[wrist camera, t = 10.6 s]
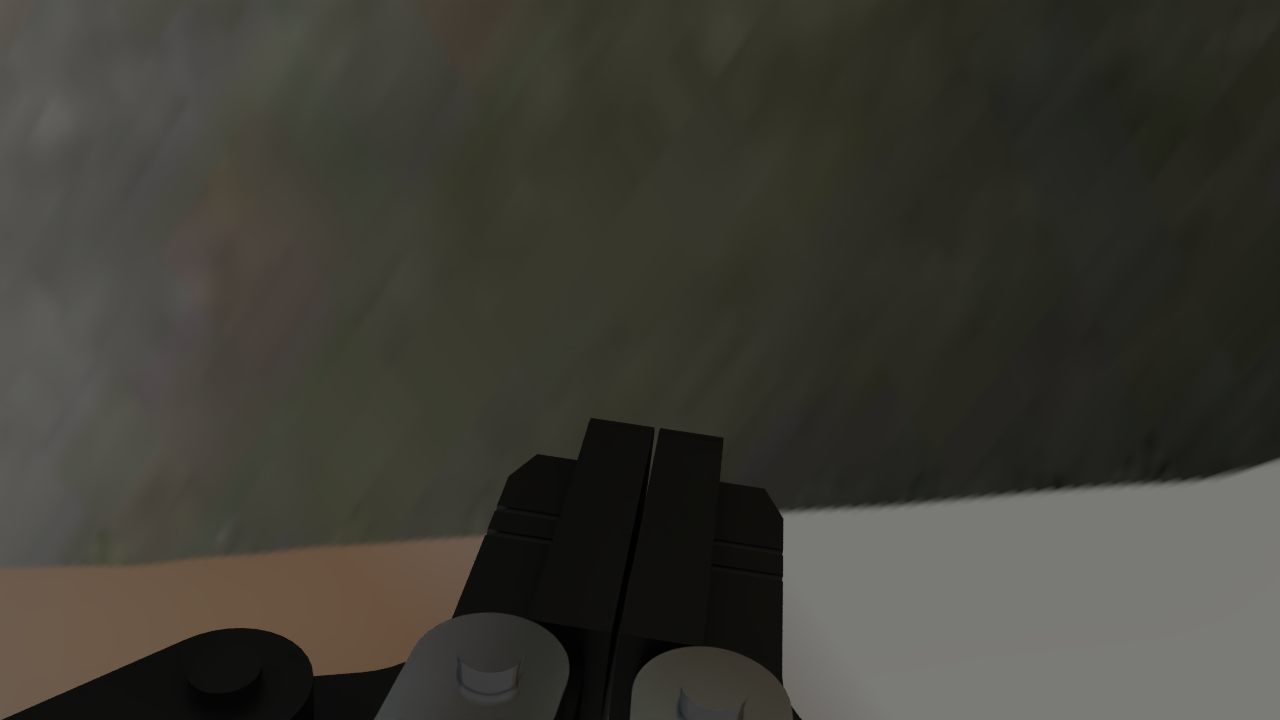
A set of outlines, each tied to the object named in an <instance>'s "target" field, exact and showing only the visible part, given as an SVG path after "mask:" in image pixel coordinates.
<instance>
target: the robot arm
mask: <svg viewBox="0 0 1280 720" xmlns="http://www.w3.org/2000/svg"><path fill="white" fill-rule="evenodd" d="M654 429H655V428H654V427H648V426H641V425H635V424H628V423H621V422H615V421H608V420H602V419H595V418H591V419H590V421H589V424H588V428H587V431H586V434H585V437H584V441H583V444H582V447H581V450H580V453H579V457H578V460H572V459H566V458H559V457H553V456H546V455H540V454H537V455H536V456H534V457H533V458H532V459H530V460H529V461H528V462H527V463H525V464H524V465H523V466H521V467H520V468H519V469H518V470H516V471H515V472H514V473H512V474H511V475H510V476H509V477H508V480H507V482H506V485H505V487H504V490H503V492H502V495H501V497H500V500H499V502H498V505H497V510H496V511H495V512H494V515H493V517H492V520H491V522H490V525H489V527H488V531H487V535H485V537H484V540H483V542H482V545H481V547H480V550H479V552H478V555H477V557H476V560H475V562H474V565H473V567H472V570H471V572H470V575H469V577H468V580H467V582H466V585H465V587H464V590H463V592H462V595H461V597H460V600H459V602H458V605H457V607H456V610H455V612H454V615H453V617H452V619H450V620H447V621H445V622H443V623H441V624H439V625H437V626H435V627H434V628H433V629H431V630H430V631H428V632H427V633H426V634H425V635H424V636H423V637H422V638H421V639H420V640H419V641H418V643H417V644H416V646H415V647H414V649H413V650H412V652H411V654H410V656H409V657H408V659H407V661H406V662H404V663H401V664H398V665H396V666H393V667H389V668H385V669H381V670H376V671H369V672H361V673H350V674H336V675H325V676H324V675H323V676H313V672H312V671H313V670H312V665H311V663H310V661H309V659H308V657H307V655H306V654H305V653H304V652H303V650H302V649H301V648H300V647H298V646H297V645H296V644H294V643H293V642H292V641H290V640H288V639H287V638H285V637H283V636H281V635H277V634H275V633H272V632H268V631H263V630H258V629H248V628H233V629H222V630H215V631H211V632H207V633H203V634H199V635H196V636H194V637H191V638H188V639H186V640H183V641H181V642H179V643H176V644H174V645H172V646H170V647H167V648H165V649H163V650H161V651H158V652H156V653H154V654H151V655H149V656H147V657H144V658H142V659H140V660H138V661H135V662H133V663H131V664H128V665H126V666H124V667H122V668H119V669H117V670H115V671H112V672H110V673H108V674H106V675H103V676H101V677H99V678H96V679H94V680H92V681H90V682H87V683H85V684H83V685H80V686H78V687H76V688H74V689H71V690H69V691H67V692H65V693H62V694H60V695H57V696H55V697H53V698H51V699H48V700H46V701H44V702H41V703H39V704H37V705H35V706H33V707H30V708H28V709H25V710H23V711H21V712H19V713H16V714H14V715H12V716H10V717H7V718H5V719H3V720H802V719H801V718H799V716H798V714H797V713H796V712H795V710H794V709H793V708H792V706H791V703H790V699H789V697H788V695H787V693H786V690H785V689H784V687H783V680H782V623H783V621H782V620H783V619H782V617H783V616H782V613H783V611H782V610H783V607H782V606H783V582H782V577H783V556H782V553H783V517H782V516H781V514H780V512H779V511H778V509H777V508H776V506H775V505H774V503H773V501H772V500H771V498H770V497H769V495H768V493H767V492H766V490H765V489H763V488H756V487H750V486H743V485H737V484H730V483H724V482H719V481H720V471H721V460H722V450H723V439H724V438H722V437H715V436H709V435H702V434H696V433H689V432H682V431H676V430H669V429H663V428H660V431H659V435H658V440H657V445H656V450H655V455H654V461H653V466H652V471H651V476H650V481H649V486H648V479H649V471H650V463H651V456H652V448H653V440H654ZM647 486H648V491H647ZM646 494H647V496H646ZM608 717H609V718H608Z"/></svg>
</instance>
